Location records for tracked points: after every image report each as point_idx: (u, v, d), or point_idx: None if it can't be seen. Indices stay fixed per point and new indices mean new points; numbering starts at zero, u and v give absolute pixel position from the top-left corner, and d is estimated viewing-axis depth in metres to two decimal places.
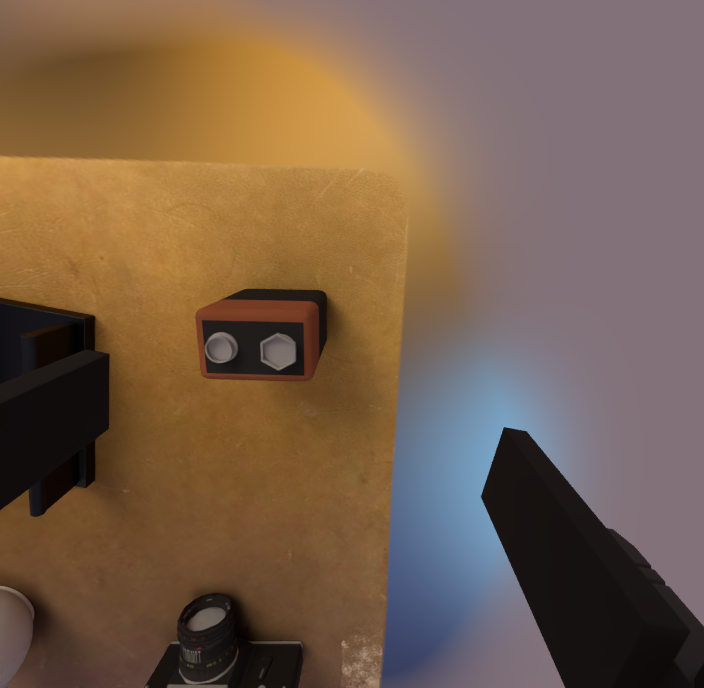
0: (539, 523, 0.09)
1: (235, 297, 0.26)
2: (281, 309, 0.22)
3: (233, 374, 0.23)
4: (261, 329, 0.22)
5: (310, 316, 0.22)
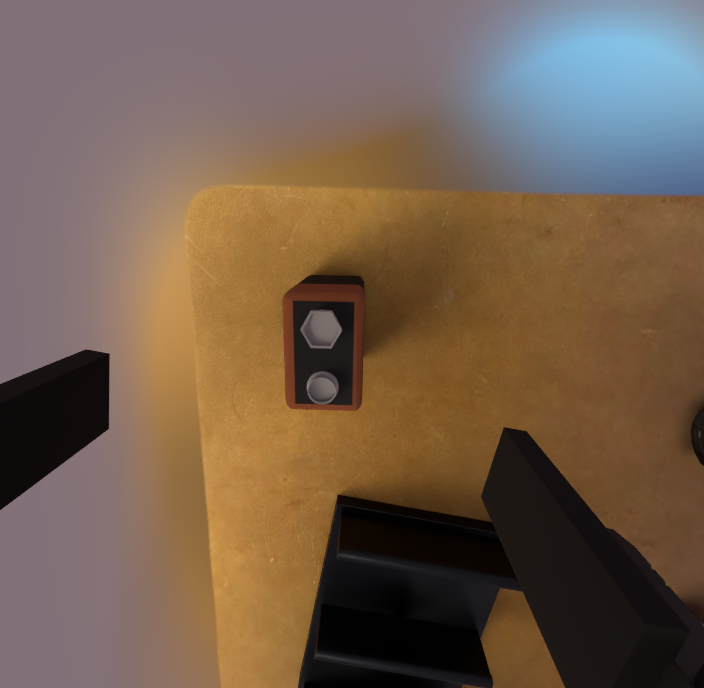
0: (539, 523, 0.09)
1: None
2: None
3: (353, 378, 0.21)
4: (302, 345, 0.20)
5: (288, 292, 0.20)
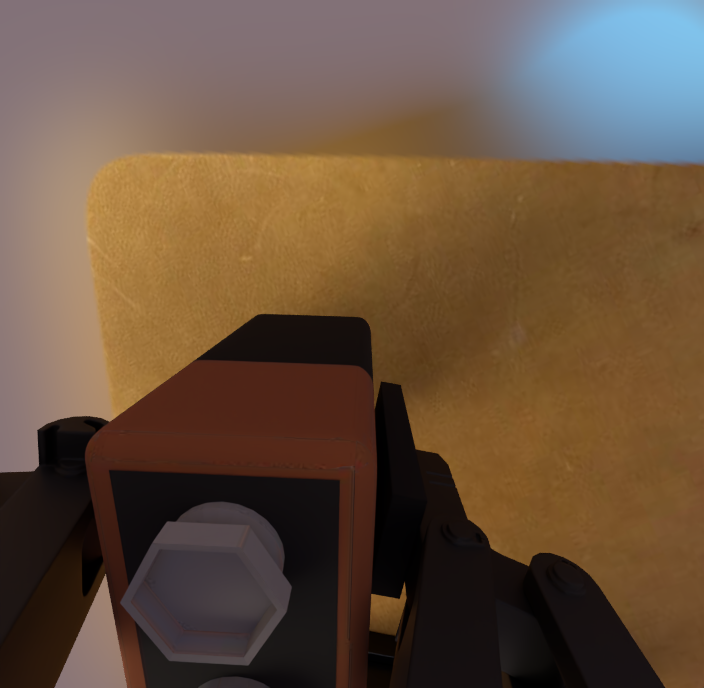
0: (378, 449, 0.11)
1: None
2: None
3: None
4: None
5: (98, 437, 0.05)
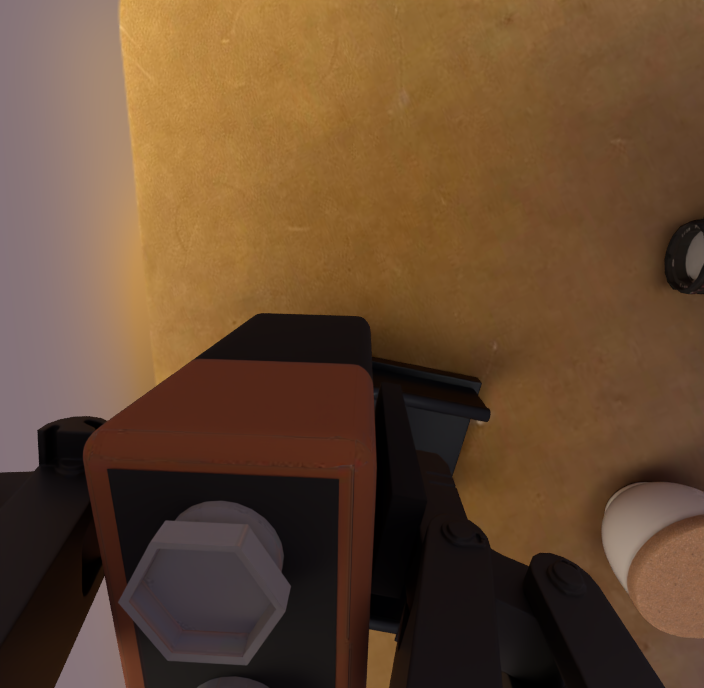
0: (378, 449, 0.11)
1: None
2: None
3: None
4: None
5: (97, 435, 0.05)
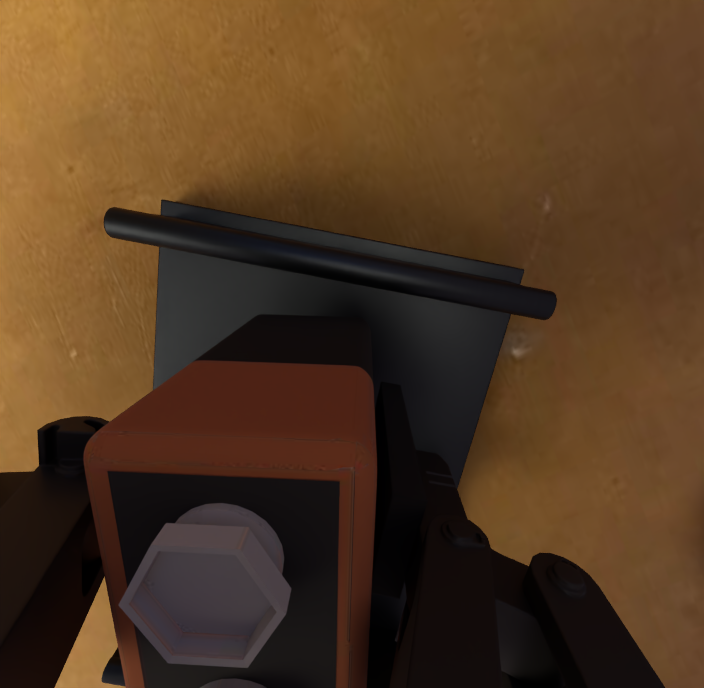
0: (378, 449, 0.11)
1: None
2: None
3: None
4: None
5: (97, 437, 0.05)
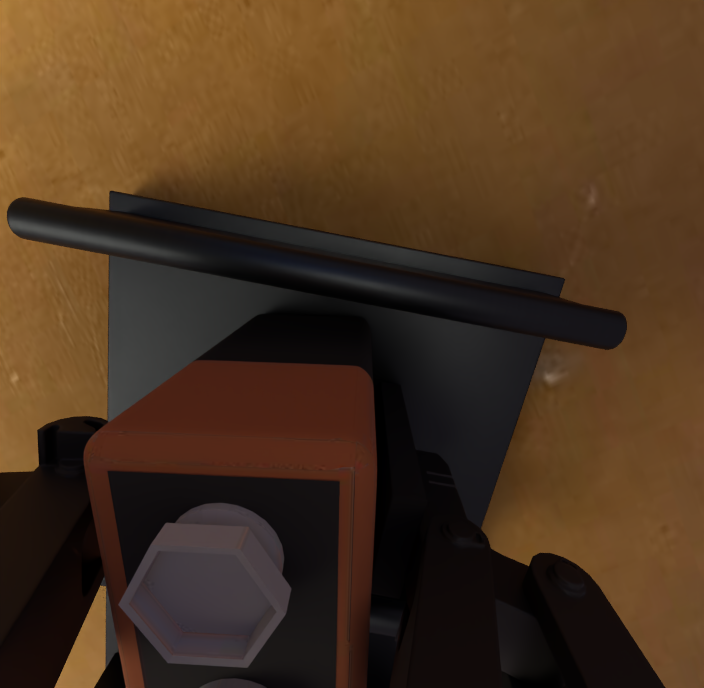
0: (378, 449, 0.11)
1: None
2: None
3: None
4: None
5: (97, 437, 0.05)
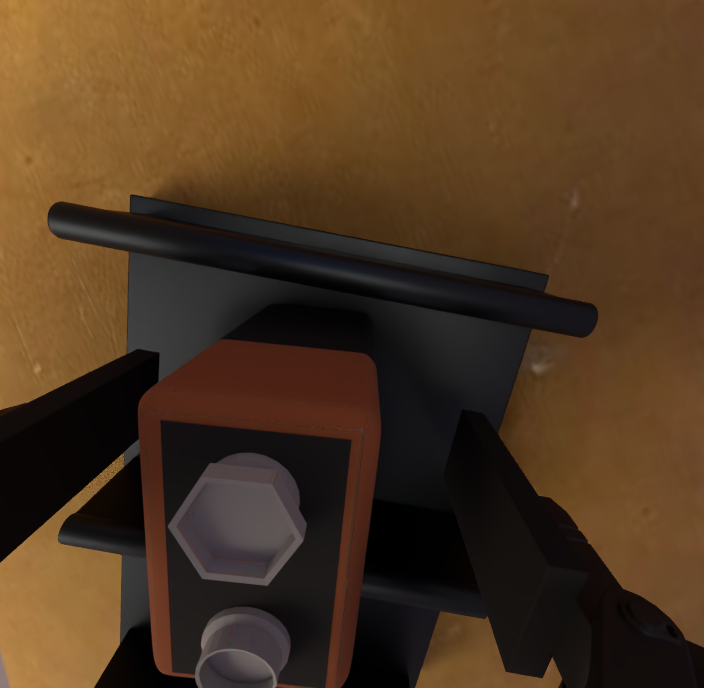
0: (483, 492, 0.10)
1: None
2: None
3: (334, 630, 0.08)
4: None
5: (151, 392, 0.07)
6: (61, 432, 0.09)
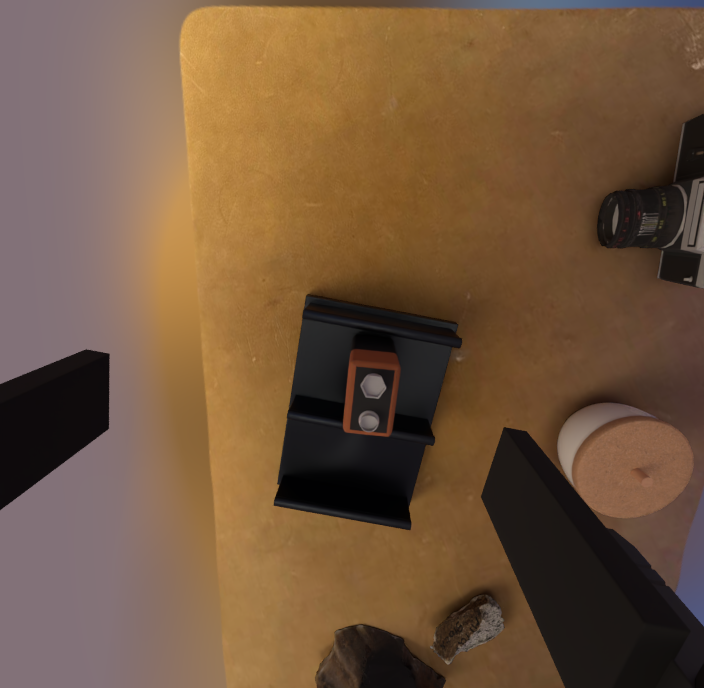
0: (539, 523, 0.09)
1: None
2: (347, 378, 0.32)
3: (389, 416, 0.33)
4: (358, 393, 0.32)
5: (353, 361, 0.32)
6: None
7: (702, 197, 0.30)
